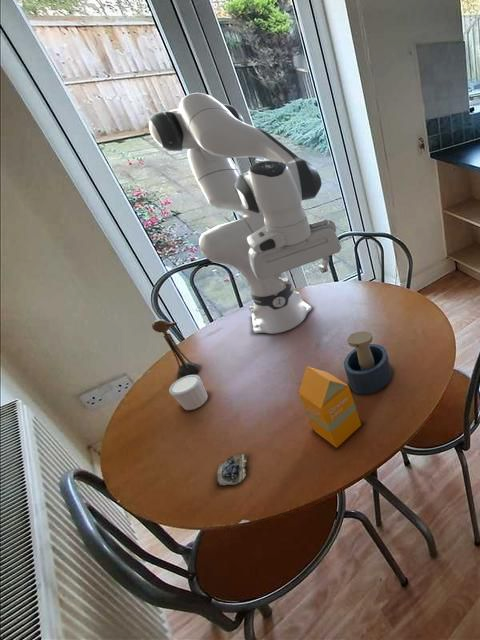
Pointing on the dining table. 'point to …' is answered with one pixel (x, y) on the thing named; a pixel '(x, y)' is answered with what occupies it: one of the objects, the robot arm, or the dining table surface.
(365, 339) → the handle
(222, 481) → the mineral rock
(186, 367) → the wooden tabletop sculpture
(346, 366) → the jar
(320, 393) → the orange juice
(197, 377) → the white ribbed cylinder
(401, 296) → the dining table surface
